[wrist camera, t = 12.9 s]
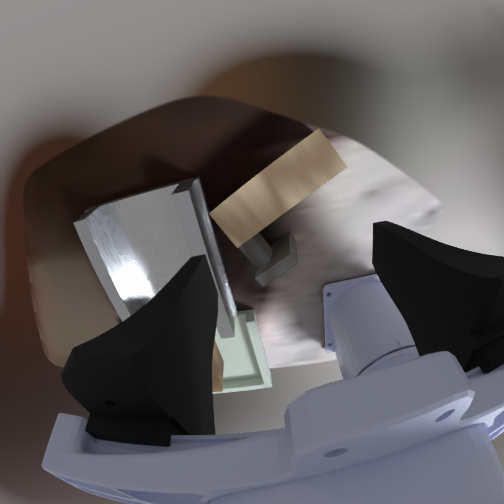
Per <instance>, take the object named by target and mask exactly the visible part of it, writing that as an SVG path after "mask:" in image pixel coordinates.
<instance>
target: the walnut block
mask: <svg viewBox="0 0 504 504" xmlns="http://www.w3.org/2000/svg"><path fill="white" fill-rule="evenodd" d="M223 371H224V361H223V358H222V356H221V354H220V351H219V349H218V346H217V344H216V341H214V349H213V359H212V390H213V392H221V391H223Z"/></svg>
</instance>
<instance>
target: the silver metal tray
mask: <svg viewBox="0 0 504 504" xmlns="http://www.w3.org/2000/svg"><path fill="white" fill-rule="evenodd" d="M209 213H210V211H209V207H208V203H207V200H206V196H205V192H204V188H203V184H202V181H201V177H195V178H191V179H187V180H183V181H179V182H175V183H171V184H167V185H163V186H160V187H156V188H152V189H149V190H145V191H142V192H138V193H135V194H131V195H128V196H124V197H121V198H118V199H115V200H111V201H108V202H105V203H102V204H99V205H96V206H93V207H90V208H88V209H87V210H86V211H85V213H84V214H83V215H82V216H81V217H79V218H78V219H77V220H76V221H75V222H74V225H75V228H76V230H77V233H78V235H79V237H80V240H81V242H82V244H83V246H84V249H85V251H86V253H87V255H88V257H89V259H90V261H91V264H92V266H93V268H94V270H95V272H96V274H97V276H98V278H99V280H100V282H101V284H102V286H103V288H104V289H105V291H106V293H107V295H108V297H109V299H110V301H111V302H112V304H113V306H114V308H115V310H116V311H117V313H118V315H119V317H120V318H121V320H122V322H123V321H124V320H125V319H127V318H128V317H130V316H131V315H132V314H134V313H135V312H137V311H138V310H139V309H140V308H141V307H143V306H144V305H145V304H146V303H147V302H148V301H150V300H151V299H152V298H153V297H154V296H155V295H156V294H157V293H158V292H159V291H160V290H161V289H162V288H163V287H164V286H165V285H166V284H167V283H168V282H169V281H170V280H171V278H172V277H173V276H174V275H175V274H176V273H177V272H178V271H179V270H180V268H181V267H182V266H183V265H184V264H185V263H186V262H187V261H188V260H189V259H190V258H191V257H193V256H198V255H203V254H206V257H207V261H208V264H209V267H210V270H211V273H212V276H213V279H214V282H215V285H216V288H217V291H218V318H217V326H216V327H217V330H218V333H219V335H220V338H221V339H224V338H231V337H235V317H238V309H237V306H236V302H235V299H234V296H233V292H232V289H231V285H230V282H229V278H228V275H227V272H226V268H225V265H224V261H223V258H222V254H221V251H220V247H219V243H218V240H217V236H216V233H215V229H214V225H213V222H212V218H211V216H210V215H209Z"/></svg>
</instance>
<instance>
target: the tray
mask: <svg viewBox="0 0 504 504" xmlns="http://www.w3.org/2000/svg"><path fill="white" fill-rule="evenodd" d="M215 341H216V344H217V346H218V349H219V351H220V354H221V356H222V358H223V361H224V371H223V391H221V392H213V394H214V393H226V392H236V391H245V390H253V389H261V388H268V387H272V379H271V373H270V369H269V365H268V361H267V358H266V354H265V350H264V346H263V342H262V338H261V334H260V330H259V327H258V323H257V319H256V315H255V311H254V309H250V310H244V311H238V317H235V337H231V338H224V339H221V338H220V335H219V333H218V330H217V327H216V334H215Z"/></svg>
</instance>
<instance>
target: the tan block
mask: <svg viewBox="0 0 504 504" xmlns="http://www.w3.org/2000/svg"><path fill="white" fill-rule="evenodd" d="M345 168H347V166H346V164H345V163H344V161H343V160H342V159H341V157H340V156H339V155H338V153H337V152H336V150H335V149H334V148H333V146H332V145H331V144H330V142H329V141H328V140H327V139H326V137H325V136H324V135H323V133H322V132H321V131H320V130H319V129H317V130H316V131H315V132H313V133H312V134H310V135H309V136H308V137H306V138H305V139H304V140H302V141H301V142H299V143H298V144H297V145H295V146H294V147H293V148H291V149H290V150H289V151H287V152H286V153H285V154H283V155H282V156H281V157H279V158H278V159H277V160H275V161H274V162H273V163H271V164H270V165H269V166H268V167H266V168H265V169H264V170H262V171H261V172H260V173H259V174H257V175H256V176H255V177H253V178H252V179H251V180H250V181H248V182H247V183H246V184H245V185H243V186H242V187H241V188H240V189H238V190H237V191H236V192H235V193H233V194H232V195H231V196H230V197H228V198H227V199H226V200H225V201H223V202H222V203H221V204H220V205H219V206H217V207H216V208H215V209H214V210H213V211H211V212H210V213H209V215H210V216H211V217H212V218H213V219H214V221H215V222H216V223H217V224H218V225H219V227H220V228H221V229H222V230H223V232H224V233H225V234H226V235H227V236H228V238H229V239H230V240H231V241H232V242H233V244H234V245H235V246H236V247H237V248H238V247H239V249H240V250H241V251H242V252H243V253H244V255H245V256H246V257H247V258H248V259H249V261H250V262H251V263H252V264H253V265H254V267H255V268H256V269H257V272H256V276H255V279H256V280H257V281H258V282H259V283H260V285H261V286H262V287H264V286H265V285H266V284H268V283H269V282H271V281H272V280H274V279H275V278H277V277H278V276H280V275H281V274H283V273H284V272H286V271H287V270H289V269H290V268H292V267H293V266H295V265H296V264H297V254H296V243H295V239H294V238H293V236H292V235H291V234H290V233H287V234H286V235H285V236H283V237H282V238H280V239H279V240H278V241H276V242H275V243H273V244H272V245H271V246H270V245H269V244H268V243H267V242H266V240H265V239H264V238H263V237H262V235H261V234H260V233H259V232H260V231H261V230H262V229H264V228H265V227H266V226H268V225H269V224H270V223H272V222H273V221H274V220H276V219H277V218H279V217H280V216H281V215H283V214H284V213H285V212H287V211H288V210H289V209H291V208H292V207H293V206H295V205H296V204H297V203H299V202H300V201H302V200H303V199H304V198H306V197H307V196H308V195H310V194H311V193H312V192H314V191H315V190H317V189H318V188H319V187H321V186H322V185H323V184H325V183H326V182H327V181H329V180H330V179H332V178H333V177H334V176H336V175H337V174H338V173H340V172H341V171H343V170H344V169H345Z"/></svg>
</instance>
